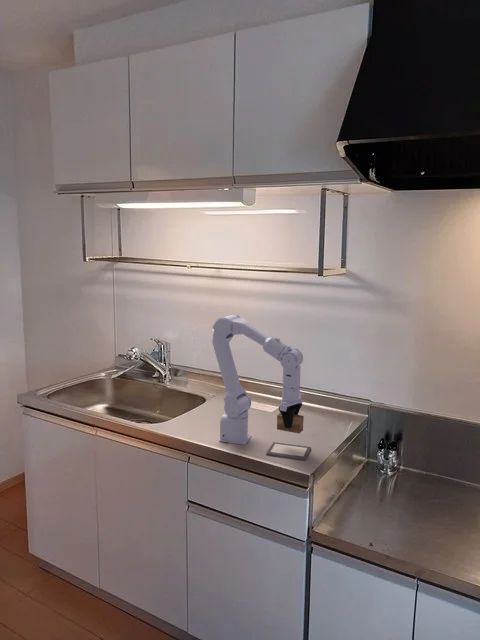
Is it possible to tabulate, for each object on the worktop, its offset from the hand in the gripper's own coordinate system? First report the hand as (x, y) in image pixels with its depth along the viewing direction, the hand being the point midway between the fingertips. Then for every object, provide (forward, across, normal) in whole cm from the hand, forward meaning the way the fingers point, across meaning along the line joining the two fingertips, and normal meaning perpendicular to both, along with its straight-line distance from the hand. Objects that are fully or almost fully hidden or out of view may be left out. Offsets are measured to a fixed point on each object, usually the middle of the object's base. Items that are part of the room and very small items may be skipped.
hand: (290, 425), depth 172 cm
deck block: (+2, 0, 0) cm, 2 cm away
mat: (+8, -2, 0) cm, 9 cm away
